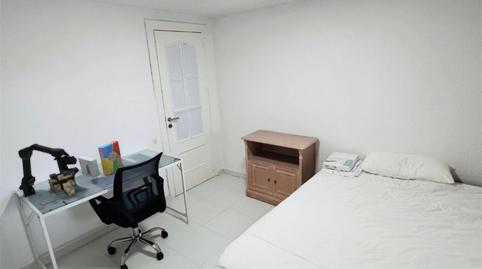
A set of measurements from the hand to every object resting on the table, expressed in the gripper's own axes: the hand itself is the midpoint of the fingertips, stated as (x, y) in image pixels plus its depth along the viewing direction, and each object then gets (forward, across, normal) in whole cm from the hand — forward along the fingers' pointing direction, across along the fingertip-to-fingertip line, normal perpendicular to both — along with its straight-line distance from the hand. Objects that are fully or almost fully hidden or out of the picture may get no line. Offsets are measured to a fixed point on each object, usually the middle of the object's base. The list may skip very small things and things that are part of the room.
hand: (67, 182), depth 196 cm
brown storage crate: (+9, 0, +14) cm, 16 cm away
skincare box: (+9, +25, +25) cm, 36 cm away
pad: (+9, -11, -2) cm, 14 cm away
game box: (+9, +41, +13) cm, 44 cm away
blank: (+9, 0, +1) cm, 9 cm away
